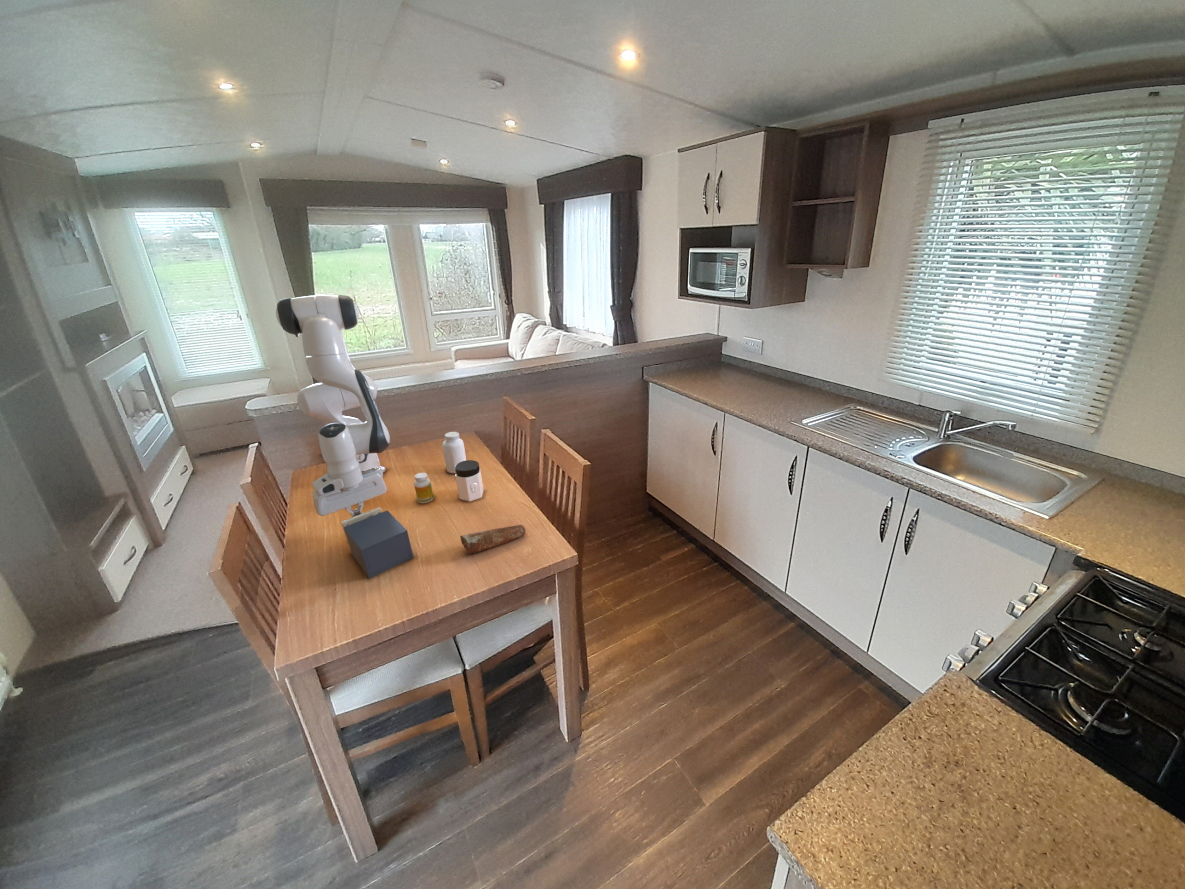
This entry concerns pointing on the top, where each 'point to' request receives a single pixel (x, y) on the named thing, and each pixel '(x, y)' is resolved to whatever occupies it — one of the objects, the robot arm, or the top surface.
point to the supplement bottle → (423, 488)
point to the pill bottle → (453, 451)
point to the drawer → (360, 518)
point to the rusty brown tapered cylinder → (491, 538)
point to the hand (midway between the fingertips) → (357, 515)
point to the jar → (469, 480)
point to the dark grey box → (378, 543)
